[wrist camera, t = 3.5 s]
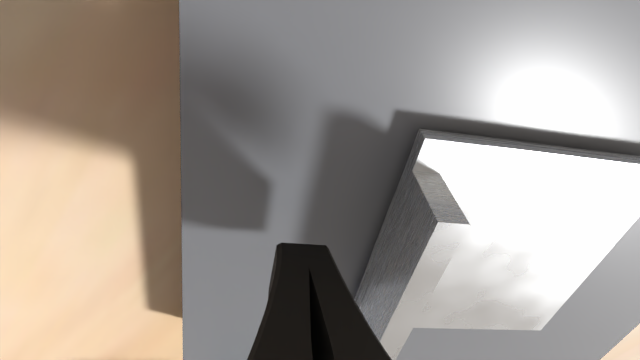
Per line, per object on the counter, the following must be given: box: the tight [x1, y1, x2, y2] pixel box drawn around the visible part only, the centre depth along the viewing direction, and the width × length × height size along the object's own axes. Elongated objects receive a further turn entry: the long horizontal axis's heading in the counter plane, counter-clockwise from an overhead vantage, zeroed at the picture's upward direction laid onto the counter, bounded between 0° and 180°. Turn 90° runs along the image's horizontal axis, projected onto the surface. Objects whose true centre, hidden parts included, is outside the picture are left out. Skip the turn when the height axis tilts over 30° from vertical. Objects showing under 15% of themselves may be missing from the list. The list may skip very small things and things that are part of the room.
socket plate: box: [179, 0, 640, 360], centre depth 14 cm, size 20×16×2 cm
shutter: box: [354, 129, 640, 360], centre depth 12 cm, size 8×8×2 cm
